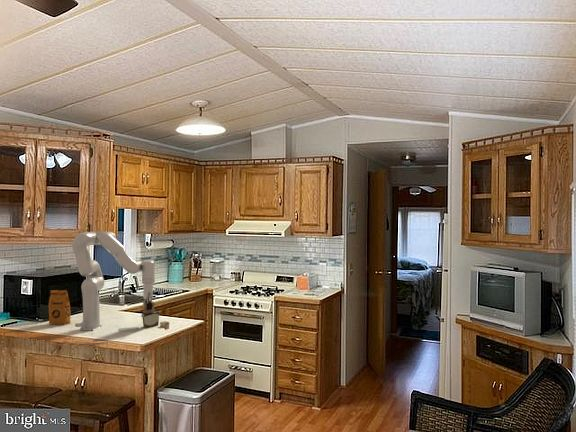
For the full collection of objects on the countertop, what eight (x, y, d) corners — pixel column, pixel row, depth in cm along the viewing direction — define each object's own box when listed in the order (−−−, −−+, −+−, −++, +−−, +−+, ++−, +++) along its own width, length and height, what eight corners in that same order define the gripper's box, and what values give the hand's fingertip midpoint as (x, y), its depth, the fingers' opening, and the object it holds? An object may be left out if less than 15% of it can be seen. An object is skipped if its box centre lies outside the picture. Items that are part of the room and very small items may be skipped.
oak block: (163, 329, 290) (163, 323, 290) (160, 328, 293) (160, 322, 293) (169, 328, 293) (169, 322, 293) (166, 327, 296) (166, 321, 296)
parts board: (118, 334, 279) (118, 332, 279) (118, 330, 288) (118, 328, 288) (140, 332, 284) (140, 330, 284) (138, 328, 293) (138, 326, 293)
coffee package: (64, 326, 302) (64, 291, 302) (46, 325, 304) (46, 291, 304) (73, 322, 312) (73, 289, 312) (55, 322, 314) (55, 288, 314)
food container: (154, 325, 301) (154, 309, 301) (160, 326, 297) (160, 311, 297) (137, 329, 291) (137, 313, 291) (143, 330, 287) (142, 314, 287)
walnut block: (144, 313, 290) (144, 303, 290) (143, 311, 296) (143, 302, 296) (154, 312, 293) (154, 302, 293) (153, 310, 298) (153, 301, 298)
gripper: (140, 279, 301) (141, 306, 301) (143, 282, 285) (143, 311, 285) (153, 278, 304) (153, 305, 304) (156, 282, 288) (156, 310, 288)
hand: (148, 308), depth 294 cm, fingers open, 9 cm apart
